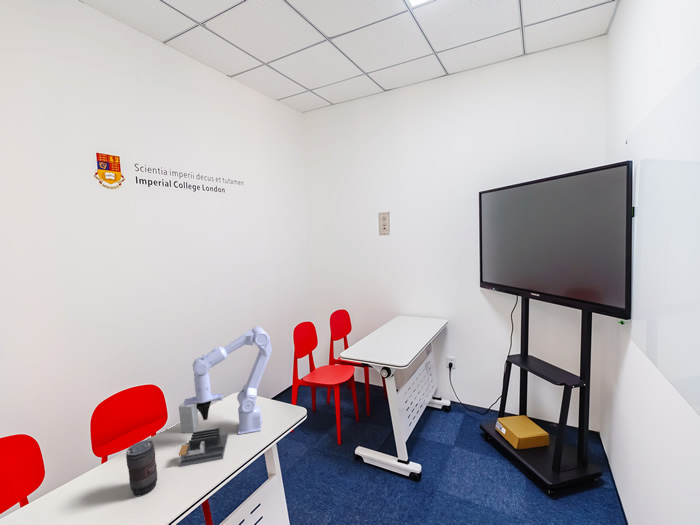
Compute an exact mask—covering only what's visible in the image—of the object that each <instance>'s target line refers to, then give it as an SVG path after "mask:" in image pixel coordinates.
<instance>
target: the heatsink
mask: <svg viewBox="0 0 700 525" xmlns="http://www.w3.org/2000/svg"><path fill="white" fill-rule="evenodd" d="M192 433H193V434H192V435H191V437H190V439H189V440H188V442H187V444H183V445H181V447H180V450H179V452H178V456H179V457H180V462H179V467H186V466H187V467H188V466H191V465H196V464H197V465H198V464H202V463H207V462H214V461H218V460H219V461H220V460H224V456H225V451H226V447H227V444H228V443H227V442H228V439H229V434H228V433H225V434H221V433H220V428H219V427H216V428H211V429H205V430H199V431H198V430H196V431H195V432H192ZM202 441H205V451H206V452H205V454H203V455H197V456H192V457H186V458H185V455H186V453H187V451H193V450H198V449H200V444H201V442H202Z"/></svg>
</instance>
